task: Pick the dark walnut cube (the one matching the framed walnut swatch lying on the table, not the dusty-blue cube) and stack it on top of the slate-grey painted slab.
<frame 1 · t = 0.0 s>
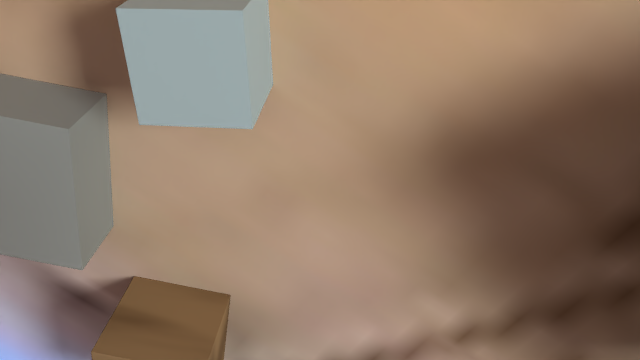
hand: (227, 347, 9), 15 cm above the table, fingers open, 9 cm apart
walnut cube: (181, 318, 30), on the table
slate slab: (37, 147, 26), on the table
dusty-blue cube: (219, 33, 22), on the table
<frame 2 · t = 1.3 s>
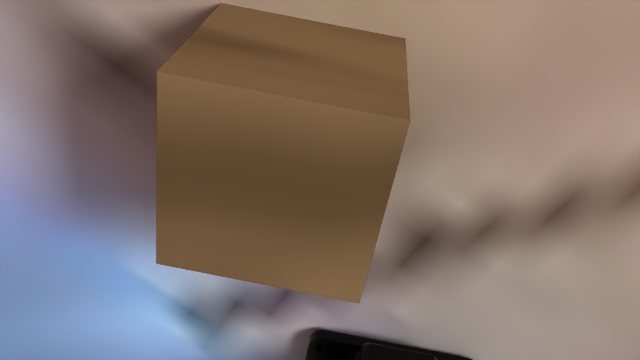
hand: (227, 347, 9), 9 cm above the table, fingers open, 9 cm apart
walnut cube: (300, 103, 17), on the table
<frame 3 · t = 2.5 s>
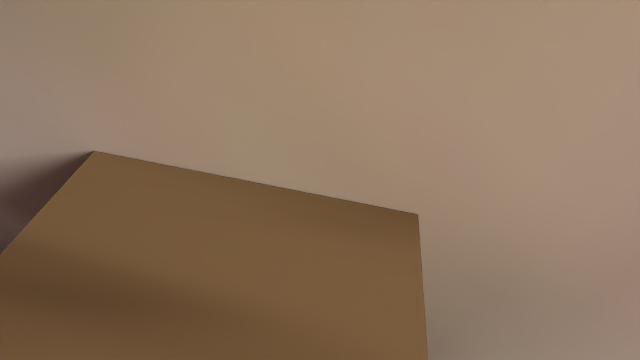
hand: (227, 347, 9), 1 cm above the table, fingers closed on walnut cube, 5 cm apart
walnut cube: (241, 300, 10), on the table, touching gripper
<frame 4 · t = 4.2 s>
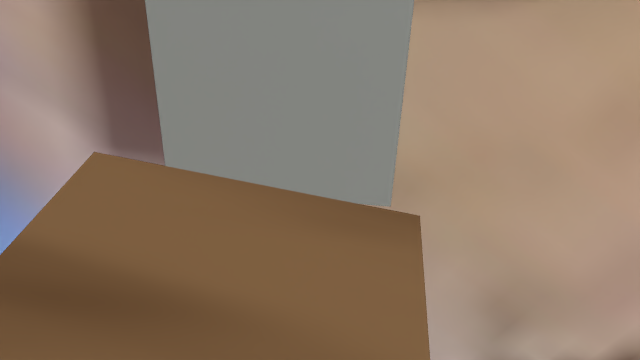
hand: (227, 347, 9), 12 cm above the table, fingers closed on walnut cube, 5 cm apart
walnut cube: (242, 301, 10), point 11 cm above the table, touching gripper
slate slab: (295, 51, 19), on the table
when the fingers open (5 cm above the table, at t = 5.7 s): walnut cube drops 1 cm, point 3 cm above the table.
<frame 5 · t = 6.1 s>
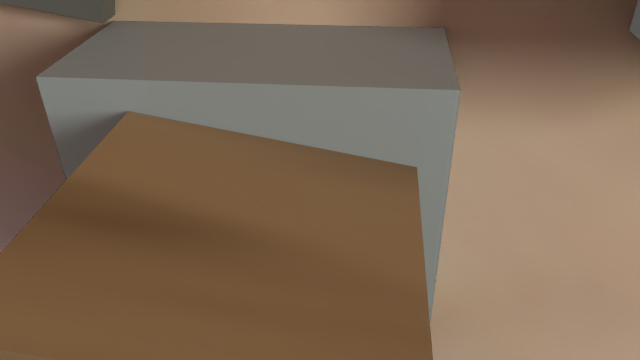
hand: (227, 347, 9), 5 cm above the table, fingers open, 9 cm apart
walnut cube: (257, 250, 11), point 3 cm above the table
slate slab: (284, 161, 14), on the table
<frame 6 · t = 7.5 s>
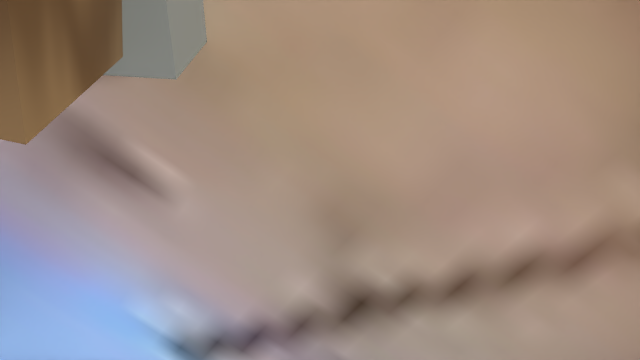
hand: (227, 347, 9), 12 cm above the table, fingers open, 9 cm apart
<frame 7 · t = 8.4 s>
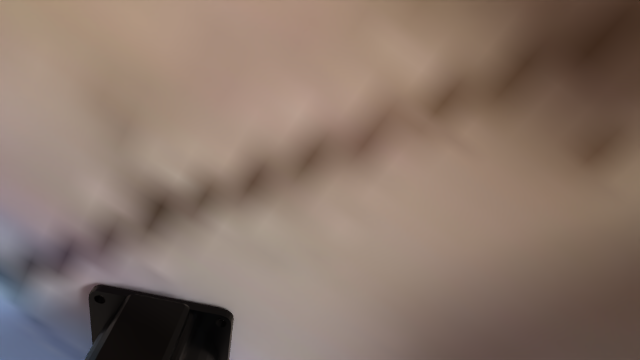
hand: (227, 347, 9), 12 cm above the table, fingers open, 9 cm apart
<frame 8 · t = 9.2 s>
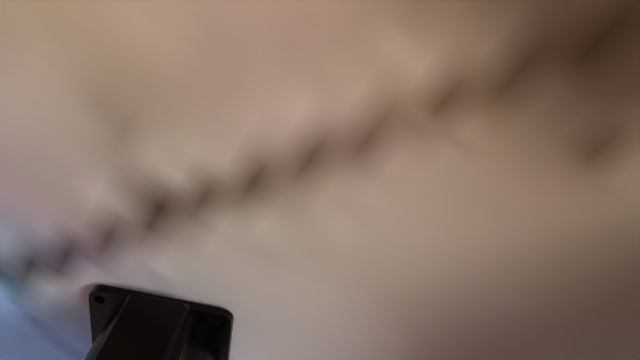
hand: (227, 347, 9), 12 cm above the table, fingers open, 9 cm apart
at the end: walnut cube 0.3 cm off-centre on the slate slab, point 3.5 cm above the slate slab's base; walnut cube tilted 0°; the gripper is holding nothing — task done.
